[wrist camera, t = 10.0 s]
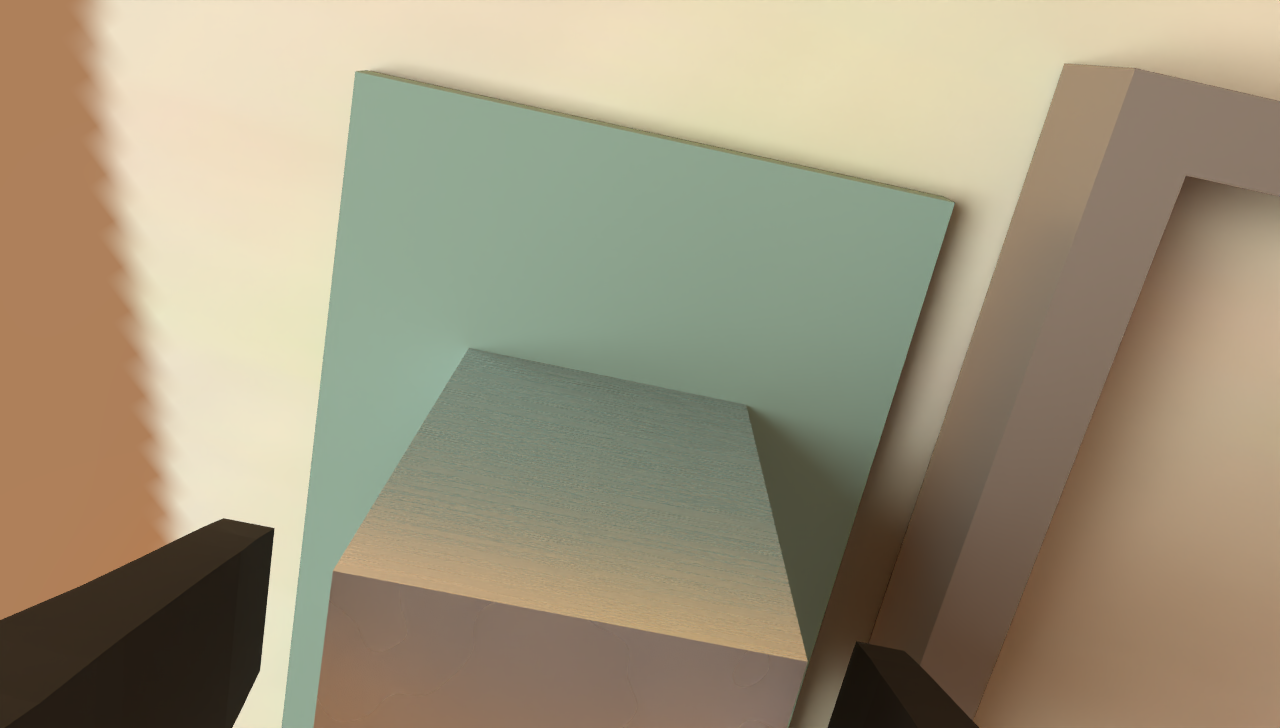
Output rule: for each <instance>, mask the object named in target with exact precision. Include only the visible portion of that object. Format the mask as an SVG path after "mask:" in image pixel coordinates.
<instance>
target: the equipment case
mask: <svg viewBox="0 0 1280 728" xmlns="http://www.w3.org/2000/svg"><path fill="white" fill-rule="evenodd" d="M1186 176H1190V177H1195V178H1199V179H1204V180H1208V181H1212V182H1217V183H1221V184H1226V185H1230V186H1235V187H1239V188H1244V189H1248V190H1253V191H1257V192H1262V193H1266V194H1271V195H1275V196H1280V101H1276V100H1272V99H1268V98H1263V97H1259V96H1255V95H1250V94H1246V93H1241V92H1237V91H1233V90H1228V89H1224V88H1220V87H1215V86H1211V85H1206V84H1202V83H1198V82H1193V81H1189V80H1185V79H1180V78H1176V77H1171V76H1167V75H1163V74H1158V73H1154V72H1149V71H1145V70H1141V69H1136V68H1123V67H1107V66H1092V65H1076V64H1064V66H1063V69H1062V72H1061V75H1060V78H1059V81H1058V84H1057V87H1056V90H1055V93H1054V96H1053V99H1052V102H1051V105H1050V108H1049V111H1048V114H1047V117H1046V120H1045V123H1044V126H1043V129H1042V132H1041V135H1040V137H1039V140H1038V143H1037V146H1036V149H1035V152H1034V155H1033V158H1032V161H1031V164H1030V167H1029V170H1028V173H1027V176H1026V179H1025V182H1024V185H1023V188H1022V191H1021V194H1020V197H1019V200H1018V203H1017V206H1016V208H1015V211H1014V214H1013V217H1012V220H1011V223H1010V226H1009V229H1008V232H1007V235H1006V238H1005V241H1004V244H1003V247H1002V250H1001V253H1000V256H999V259H998V262H997V265H996V268H995V271H994V274H993V277H992V279H991V282H990V285H989V288H988V291H987V294H986V297H985V300H984V303H983V306H982V309H981V312H980V315H979V318H978V321H977V324H976V327H975V330H974V333H973V336H972V339H971V342H970V345H969V348H968V351H967V353H966V356H965V359H964V362H963V365H962V368H961V371H960V374H959V377H958V380H957V383H956V386H955V389H954V392H953V395H952V398H951V401H950V404H949V407H948V410H947V413H946V416H945V419H944V422H943V424H942V427H941V430H940V433H939V436H938V439H937V442H936V445H935V448H934V451H933V454H932V457H931V460H930V463H929V466H928V469H927V472H926V475H925V478H924V481H923V484H922V487H921V490H920V493H919V495H918V498H917V501H916V504H915V507H914V510H913V513H912V516H911V519H910V522H909V525H908V528H907V531H906V534H905V537H904V540H903V543H902V546H901V549H900V552H899V555H898V558H897V561H896V564H895V566H894V569H893V572H892V575H891V578H890V581H889V584H888V587H887V590H886V593H885V596H884V599H883V602H882V605H881V608H880V611H879V614H878V617H877V620H876V623H875V626H874V629H873V632H872V635H871V638H870V640H869V643H868V644H872V645H877V646H882V647H888V648H893V649H898V650H903V651H905V652H906V653H907V654H908V655H909V656H911V657H912V658H913V659H914V660H915V661H916V662H917V663H918V664H919V665H920V666H921V667H922V668H923V669H924V670H925V671H926V672H927V673H928V674H929V675H930V676H931V677H932V678H933V679H934V680H935V681H936V683H937V684H938V685H939V686H940V687H941V688H942V689H943V690H944V691H945V692H946V693H947V694H948V695H949V696H950V697H951V698H952V699H953V701H954V702H955V703H956V704H957V705H958V706H959V707H960V708H961V709H962V710H963V711H964V712H965V713H966V714H967V716H968V717H969V718H970V719H971V720H972V721H973V720H974V717H975V715H976V712H977V709H978V707H979V704H980V702H981V699H982V697H983V694H984V691H985V689H986V686H987V684H988V681H989V679H990V676H991V674H992V671H993V668H994V666H995V663H996V661H997V658H998V656H999V653H1000V651H1001V648H1002V645H1003V643H1004V640H1005V638H1006V635H1007V633H1008V630H1009V627H1010V625H1011V622H1012V620H1013V617H1014V615H1015V612H1016V610H1017V607H1018V604H1019V602H1020V599H1021V597H1022V594H1023V592H1024V589H1025V587H1026V584H1027V581H1028V579H1029V576H1030V574H1031V571H1032V569H1033V566H1034V563H1035V561H1036V558H1037V556H1038V553H1039V551H1040V548H1041V546H1042V543H1043V540H1044V538H1045V535H1046V533H1047V530H1048V528H1049V525H1050V523H1051V520H1052V517H1053V515H1054V512H1055V510H1056V507H1057V505H1058V502H1059V499H1060V497H1061V494H1062V492H1063V489H1064V487H1065V484H1066V482H1067V479H1068V476H1069V474H1070V471H1071V469H1072V466H1073V464H1074V461H1075V459H1076V456H1077V453H1078V451H1079V448H1080V446H1081V443H1082V441H1083V438H1084V435H1085V433H1086V430H1087V428H1088V425H1089V423H1090V420H1091V418H1092V415H1093V412H1094V410H1095V407H1096V405H1097V402H1098V400H1099V397H1100V394H1101V392H1102V389H1103V387H1104V384H1105V382H1106V379H1107V377H1108V374H1109V371H1110V369H1111V366H1112V364H1113V361H1114V359H1115V356H1116V354H1117V351H1118V348H1119V346H1120V343H1121V341H1122V338H1123V336H1124V333H1125V330H1126V328H1127V325H1128V323H1129V320H1130V318H1131V315H1132V313H1133V310H1134V307H1135V305H1136V302H1137V300H1138V297H1139V295H1140V292H1141V290H1142V287H1143V284H1144V282H1145V279H1146V277H1147V274H1148V272H1149V269H1150V266H1151V264H1152V261H1153V259H1154V256H1155V254H1156V251H1157V249H1158V246H1159V243H1160V241H1161V238H1162V236H1163V233H1164V231H1165V228H1166V226H1167V223H1168V220H1169V218H1170V215H1171V213H1172V210H1173V208H1174V205H1175V202H1176V200H1177V197H1178V195H1179V192H1180V190H1181V187H1182V185H1183V182H1184V179H1185V177H1186Z"/></svg>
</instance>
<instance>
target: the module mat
mask: <svg viewBox="0 0 1280 728" xmlns="http://www.w3.org/2000/svg"><path fill="white" fill-rule="evenodd" d="M954 204H955V203H954V202H953V201H951V200H949V199H947V198H945V197H942V196H938V195H933V194H929V193H924V192H920V191H915V190H910V189H906V188H901V187H897V186H892V185H888V184H883V183H879V182H874V181H869V180H865V179H860V178H856V177H851V176H847V175H842V174H837V173H833V172H828V171H824V170H819V169H815V168H810V167H806V166H801V165H796V164H792V163H787V162H783V161H778V160H774V159H769V158H764V157H760V156H755V155H751V154H746V153H742V152H737V151H733V150H728V149H723V148H719V147H714V146H710V145H705V144H701V143H696V142H691V141H687V140H682V139H678V138H673V137H669V136H664V135H660V134H655V133H650V132H646V131H641V130H637V129H632V128H628V127H623V126H618V125H614V124H609V123H605V122H600V121H596V120H591V119H587V118H582V117H577V116H573V115H568V114H564V113H559V112H555V111H550V110H545V109H541V108H536V107H532V106H527V105H523V104H518V103H514V102H509V101H504V100H500V99H495V98H491V97H486V96H482V95H477V94H472V93H468V92H463V91H459V90H454V89H450V88H445V87H441V86H436V85H431V84H427V83H422V82H418V81H413V80H409V79H404V78H399V77H395V76H390V75H386V74H381V73H377V72H372V71H368V70H365V71H356V72H355V80H354V89H353V98H352V107H351V116H350V125H349V133H348V142H347V151H346V160H345V169H344V178H343V187H342V196H341V205H340V213H339V222H338V231H337V240H336V249H335V258H334V267H333V276H332V285H331V293H330V302H329V311H328V320H327V329H326V338H325V347H324V356H323V365H322V374H321V382H320V391H319V400H318V409H317V418H316V427H315V436H314V445H313V454H312V462H311V471H310V480H309V489H308V498H307V507H306V516H305V525H304V534H303V542H302V551H301V560H300V569H299V578H298V587H297V596H296V605H295V614H294V622H293V631H292V640H291V649H290V658H289V667H288V676H287V685H286V694H285V702H284V711H283V720H282V728H313V727H314V719H315V711H316V703H317V695H318V686H319V678H320V670H321V662H322V654H323V646H324V638H325V630H326V622H327V614H328V606H329V598H330V590H331V582H332V573H333V570H334V568H335V566H336V565H337V563H338V561H339V560H340V558H341V557H342V555H343V553H344V552H345V550H346V548H347V547H348V545H349V543H350V542H351V540H352V539H353V537H354V535H355V534H356V532H357V530H358V529H359V527H360V525H361V524H362V522H363V520H364V519H365V517H366V516H367V514H368V512H369V511H370V509H371V507H372V506H373V504H374V502H375V501H376V499H377V498H378V496H379V494H380V493H381V491H382V489H383V488H384V486H385V484H386V483H387V481H388V480H389V478H390V476H391V475H392V473H393V471H394V470H395V468H396V466H397V465H398V463H399V461H400V460H401V458H402V457H403V455H404V453H405V452H406V450H407V448H408V447H409V445H410V443H411V442H412V440H413V439H414V437H415V435H416V434H417V432H418V430H419V429H420V427H421V425H422V424H423V422H424V420H425V419H426V417H427V416H428V414H429V412H430V411H431V409H432V407H433V406H434V404H435V402H436V401H437V399H438V398H439V396H440V394H441V393H442V391H443V389H444V388H445V386H446V384H447V383H448V381H449V379H450V378H451V376H452V375H453V373H454V371H455V370H456V368H457V366H458V365H459V363H460V361H461V360H462V358H463V357H464V355H465V353H466V352H467V350H468V348H472V349H477V350H482V351H487V352H491V353H496V354H501V355H506V356H511V357H516V358H521V359H526V360H531V361H535V362H540V363H545V364H550V365H555V366H560V367H565V368H570V369H574V370H579V371H584V372H589V373H594V374H599V375H604V376H609V377H614V378H618V379H623V380H628V381H633V382H638V383H643V384H648V385H653V386H658V387H662V388H667V389H672V390H677V391H682V392H687V393H692V394H697V395H701V396H706V397H711V398H716V399H721V400H726V401H731V402H736V403H741V404H745V405H746V407H747V411H748V415H749V419H750V423H751V427H752V432H753V436H754V440H755V444H756V448H757V453H758V457H759V461H760V465H761V469H762V473H763V478H764V482H765V486H766V490H767V494H768V498H769V503H770V507H771V511H772V515H773V519H774V523H775V528H776V532H777V536H778V540H779V544H780V548H781V553H782V557H783V561H784V565H785V569H786V574H787V578H788V582H789V586H790V590H791V594H792V599H793V603H794V607H795V611H796V615H797V619H798V624H799V628H800V632H801V636H802V640H803V644H804V649H805V653H806V657H807V661H808V662H807V666H806V669H805V672H804V675H803V678H802V681H801V685H800V688H799V691H798V694H797V697H796V700H795V704H794V707H793V710H792V713H791V716H790V720H789V723H788V726H787V728H789V725H790V721H791V718H792V715H793V712H794V709H795V706H796V703H797V699H798V696H799V693H800V690H801V687H802V684H803V680H804V677H805V674H806V671H807V668H808V665H809V662H810V658H811V655H812V652H813V649H814V646H815V643H816V639H817V636H818V633H819V630H820V627H821V624H822V621H823V617H824V614H825V611H826V608H827V605H828V602H829V599H830V595H831V592H832V589H833V586H834V583H835V580H836V576H837V573H838V570H839V567H840V564H841V561H842V558H843V554H844V551H845V548H846V545H847V542H848V539H849V535H850V532H851V529H852V526H853V523H854V520H855V517H856V513H857V510H858V507H859V504H860V501H861V498H862V494H863V491H864V488H865V485H866V482H867V479H868V476H869V472H870V469H871V466H872V463H873V460H874V457H875V453H876V450H877V447H878V444H879V441H880V438H881V435H882V431H883V428H884V425H885V422H886V419H887V416H888V412H889V409H890V406H891V403H892V400H893V397H894V394H895V390H896V387H897V384H898V381H899V378H900V375H901V372H902V368H903V365H904V362H905V359H906V356H907V353H908V349H909V346H910V343H911V340H912V337H913V334H914V331H915V327H916V324H917V321H918V318H919V315H920V312H921V308H922V305H923V302H924V299H925V296H926V293H927V290H928V286H929V283H930V280H931V277H932V274H933V271H934V267H935V264H936V261H937V258H938V255H939V252H940V249H941V245H942V242H943V239H944V236H945V233H946V230H947V226H948V223H949V220H950V217H951V214H952V211H953V208H954Z"/></svg>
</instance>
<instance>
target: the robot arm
mask: <svg viewBox="0 0 1280 728" xmlns="http://www.w3.org/2000/svg"><path fill="white" fill-rule="evenodd" d="M273 537H274V528H270V527H265V526H260V525H255V524H250V523H245V522H239V521H234V520H229V519H221V520H219V521H216V522H214V523H211V524H209V525H207V526H205V527H203V528H200V529H198V530H196V531H194V532H192V533H190V534H188V535H186V536H184V537H182V538H180V539H178V540H175V541H173V542H171V543H169V544H167V545H165V546H163V547H161V548H159V549H157V550H155V551H153V552H151V553H149V554H147V555H145V556H143V557H141V558H139V559H137V560H134V561H132V562H130V563H128V564H126V565H124V566H122V567H120V568H118V569H116V570H113V571H111V572H109V573H107V574H105V575H103V576H101V577H99V578H97V579H95V580H93V581H90V582H88V583H86V584H84V585H82V586H80V587H77V588H75V589H73V590H70V591H68V592H66V593H63V594H61V595H59V596H56V597H54V598H51V599H49V600H47V601H44V602H42V603H40V604H37V605H35V606H33V607H30V608H28V609H26V610H24V611H21V612H19V613H16V614H14V615H12V616H9V617H7V618H4V619H2V620H0V728H232V727H233V725H234V723H235V721H236V719H237V717H238V715H239V713H240V711H241V709H242V707H243V705H244V703H245V701H246V699H247V696H248V694H249V692H250V690H251V688H252V686H253V684H254V682H255V680H256V678H257V675H258V673H259V671H260V665H261V655H262V645H263V635H264V625H265V616H266V606H267V596H268V586H269V576H270V566H271V556H272V546H273ZM828 728H979V727H978V726H977V725H976V724H975V723H974V722H973V721H972V720H971V719H970V718H969V717H968V716H967V714H966V713H965V712H964V711H963V710H962V709H961V708H960V707H959V706H958V705H957V704H956V703H955V702H954V701H953V699H952V698H951V697H950V696H949V695H948V694H947V693H946V692H945V691H944V690H943V689H942V688H941V687H940V686H939V685H938V684H937V683H936V681H935V680H934V679H933V678H932V677H931V676H930V675H929V674H928V673H927V672H926V671H925V670H924V669H923V668H922V667H921V666H920V665H919V664H918V663H917V662H916V661H915V660H914V659H913V658H912V657H911V656H909V655H908V654H907V653H906V652H905V651H903V650H898V649H893V648H888V647H882V646H877V645H872V644H867V643H862V642H857V641H856V644H855V647H854V650H853V653H852V656H851V659H850V662H849V665H848V668H847V671H846V674H845V677H844V680H843V683H842V686H841V689H840V692H839V695H838V698H837V701H836V704H835V707H834V710H833V713H832V716H831V719H830V722H829V725H828Z"/></svg>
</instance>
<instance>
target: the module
mask: <svg viewBox="0 0 1280 728" xmlns="http://www.w3.org/2000/svg"><path fill="white" fill-rule="evenodd" d="M807 662H808V661H807V657H806V653H805V649H804V644H803V640H802V636H801V632H800V628H799V624H798V619H797V615H796V611H795V607H794V603H793V599H792V594H791V590H790V586H789V582H788V578H787V574H786V569H785V565H784V561H783V557H782V553H781V548H780V544H779V540H778V536H777V532H776V528H775V523H774V519H773V515H772V511H771V507H770V503H769V498H768V494H767V490H766V486H765V482H764V478H763V473H762V469H761V465H760V461H759V457H758V453H757V448H756V444H755V440H754V436H753V432H752V427H751V423H750V419H749V415H748V411H747V407H746V405H745V404H741V403H736V402H731V401H726V400H721V399H716V398H711V397H706V396H701V395H697V394H692V393H687V392H682V391H677V390H672V389H667V388H662V387H658V386H653V385H648V384H643V383H638V382H633V381H628V380H623V379H618V378H614V377H609V376H604V375H599V374H594V373H589V372H584V371H579V370H574V369H570V368H565V367H560V366H555V365H550V364H545V363H540V362H535V361H531V360H526V359H521V358H516V357H511V356H506V355H501V354H496V353H491V352H487V351H482V350H477V349H472V348H468V350H467V352H466V353H465V355H464V357H463V358H462V360H461V361H460V363H459V365H458V366H457V368H456V370H455V371H454V373H453V375H452V376H451V378H450V379H449V381H448V383H447V384H446V386H445V388H444V389H443V391H442V393H441V394H440V396H439V398H438V399H437V401H436V402H435V404H434V406H433V407H432V409H431V411H430V412H429V414H428V416H427V417H426V419H425V420H424V422H423V424H422V425H421V427H420V429H419V430H418V432H417V434H416V435H415V437H414V439H413V440H412V442H411V443H410V445H409V447H408V448H407V450H406V452H405V453H404V455H403V457H402V458H401V460H400V461H399V463H398V465H397V466H396V468H395V470H394V471H393V473H392V475H391V476H390V478H389V480H388V481H387V483H386V484H385V486H384V488H383V489H382V491H381V493H380V494H379V496H378V498H377V499H376V501H375V502H374V504H373V506H372V507H371V509H370V511H369V512H368V514H367V516H366V517H365V519H364V520H363V522H362V524H361V525H360V527H359V529H358V530H357V532H356V534H355V535H354V537H353V539H352V540H351V542H350V543H349V545H348V547H347V548H346V550H345V552H344V553H343V555H342V557H341V558H340V560H339V561H338V563H337V565H336V566H335V568H334V570H333V573H332V582H331V590H330V598H329V606H328V614H327V622H326V630H325V638H324V646H323V654H322V662H321V670H320V678H319V686H318V695H317V703H316V711H315V719H314V727H313V728H787V726H788V723H789V720H790V716H791V713H792V710H793V707H794V704H795V700H796V697H797V694H798V691H799V688H800V685H801V681H802V678H803V675H804V672H805V669H806V666H807Z"/></svg>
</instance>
